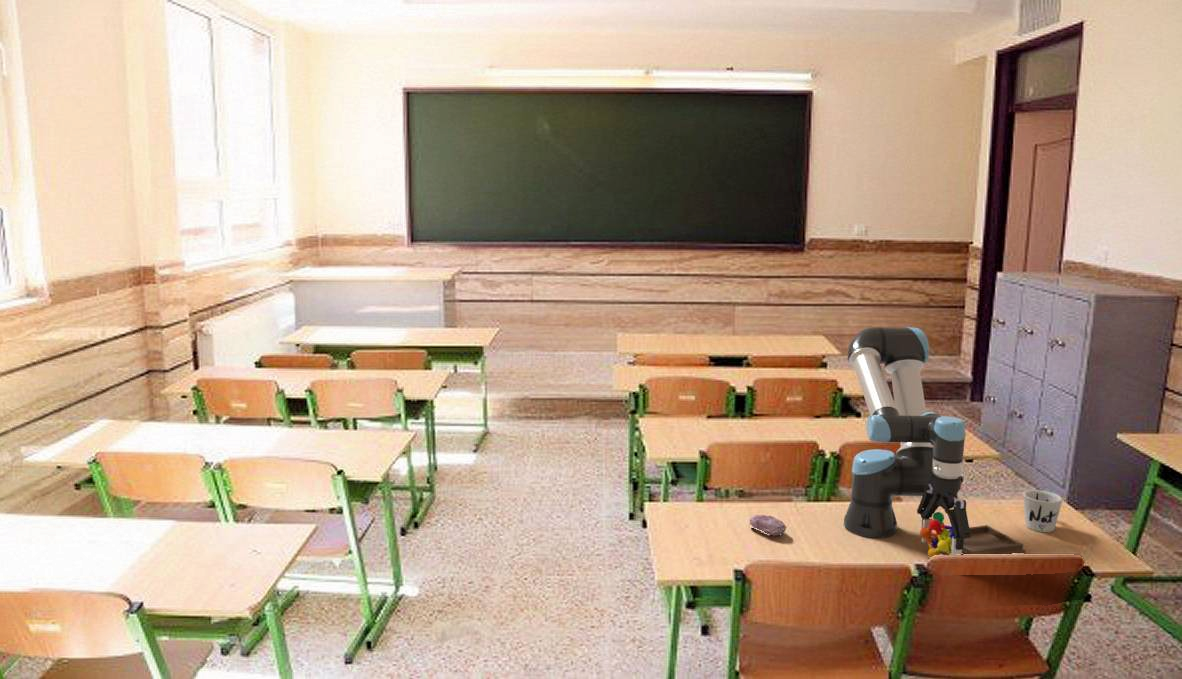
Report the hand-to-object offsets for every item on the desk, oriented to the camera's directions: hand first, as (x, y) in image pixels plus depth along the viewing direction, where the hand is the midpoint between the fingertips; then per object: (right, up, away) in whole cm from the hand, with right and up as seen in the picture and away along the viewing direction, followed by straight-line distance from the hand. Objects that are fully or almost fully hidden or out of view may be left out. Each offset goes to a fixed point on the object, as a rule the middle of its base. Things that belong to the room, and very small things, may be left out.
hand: (940, 550), depth 227 cm
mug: (+39, +2, +23) cm, 46 cm away
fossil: (-44, 0, +19) cm, 48 cm away
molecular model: (0, -2, +1) cm, 2 cm away
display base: (+14, -1, +8) cm, 17 cm away
